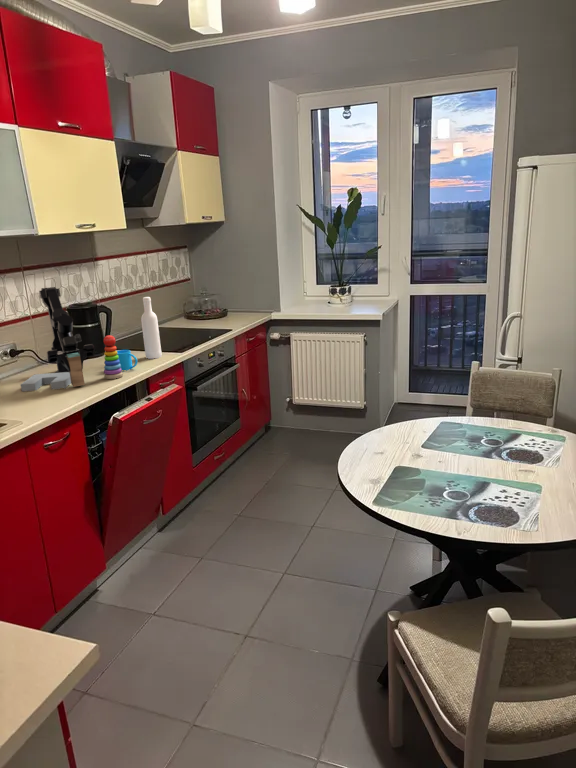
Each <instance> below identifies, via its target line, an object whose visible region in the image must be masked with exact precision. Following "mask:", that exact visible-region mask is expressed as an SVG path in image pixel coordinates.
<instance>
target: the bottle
mask: <svg viewBox="0 0 576 768" xmlns="http://www.w3.org/2000/svg"><path fill="white" fill-rule="evenodd" d="M142 302H143V303H142V304H143V309H144V310H143V311H144V312H143V313H142V315H141V319H140V320H141V330H142V337H143V344H144V345H143V346H144V353H145V354H144V355H145V358H146V359H147V358H148V359H149V360H151V359H152V360H154V358H155V359H159V357H160V358H161V357H162V356H163V355H162V353H163V352H162V347H161V338H160V330H159V322H158V316H157V314H156V313H155V312H154V311H153V309H152V299H151V297H150V296H144V297H142Z"/></svg>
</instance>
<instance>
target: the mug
mask: <svg viewBox="0 0 576 768" xmlns="http://www.w3.org/2000/svg"><path fill="white" fill-rule="evenodd" d="M116 351H117V355H118V356H119V358H118V359H119V361H120V364H121V367H120V368H121V369H122V370H126V371H130V370H132V369H133V368H135V367H137V365H138V358H137V356H135V354H133V353H132V351H131V350H130V349H118V350H116ZM132 357H133V359H134V362H135V363H134V365H133V359H132ZM129 369H130V370H129Z"/></svg>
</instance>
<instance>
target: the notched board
mask: <svg viewBox="0 0 576 768" xmlns="http://www.w3.org/2000/svg"><path fill="white" fill-rule="evenodd" d="M19 385H20V389H21V392H32V391H34V390H35V391H37V390H38V389H40V388H41V387H42V386H43V385H50V387H51V390H60V388H64V389H67V388H68V387H69V386H70V385H72V384H71V379H70V373H69V372H61V373H55V372H51V373H49V372H48V373H37V374H33V375H31V376H30V377H29V378H27V379H26V380H25V381H23V382H22V383H20V384H19ZM68 385H69V386H68ZM40 386H41V387H40ZM67 386H68V387H67ZM66 387H67V388H66Z"/></svg>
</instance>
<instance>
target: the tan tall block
mask: <svg viewBox="0 0 576 768" xmlns="http://www.w3.org/2000/svg"><path fill="white" fill-rule="evenodd" d="M66 356H67V361H68V364H69V366H70V370H71V371H70V372H69V373H70V379H71V384H70V385H71V386H72V387H79V386H85V377H84V374H83V372H84V371H83V369H82V365H81V359H80V354H79V353H72V354H66Z"/></svg>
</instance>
